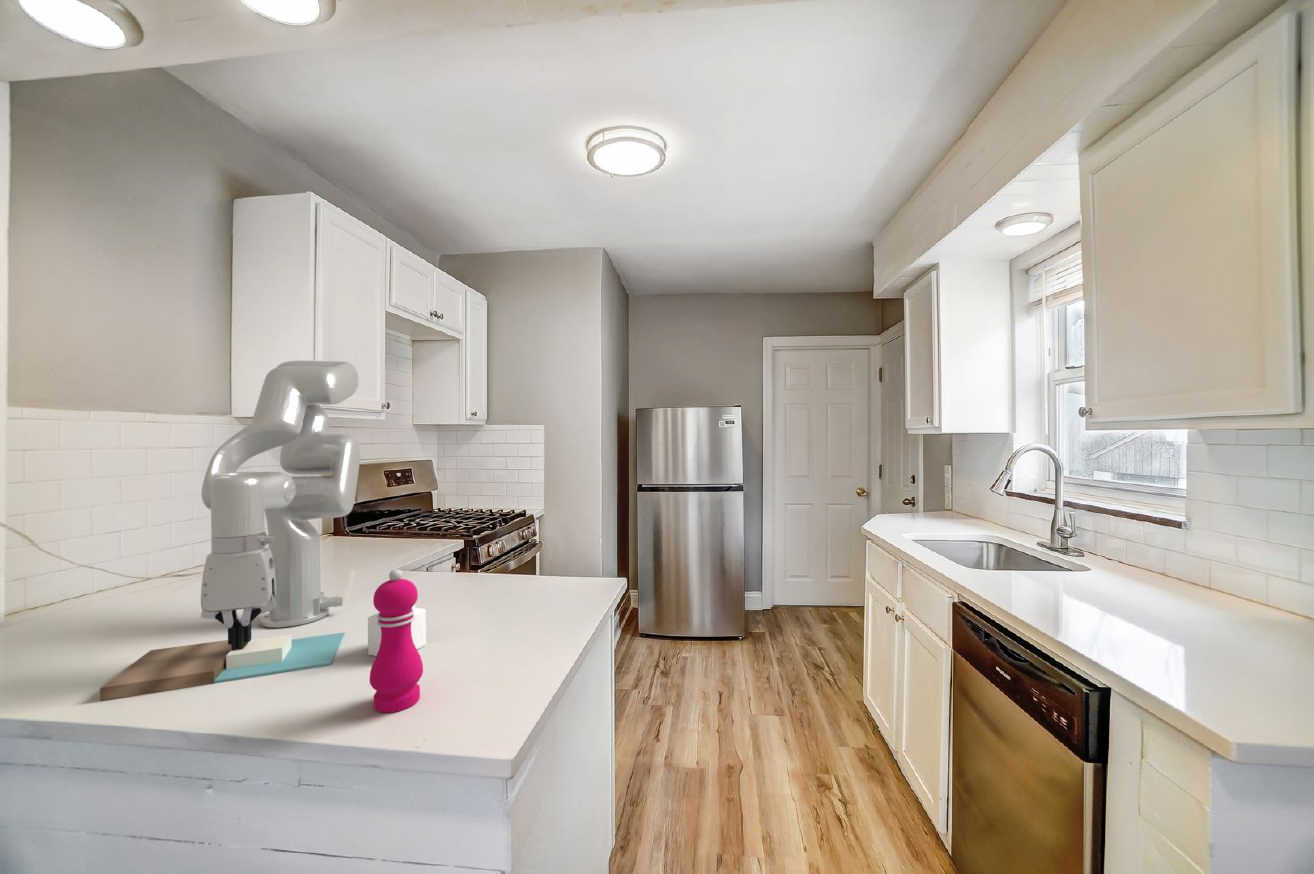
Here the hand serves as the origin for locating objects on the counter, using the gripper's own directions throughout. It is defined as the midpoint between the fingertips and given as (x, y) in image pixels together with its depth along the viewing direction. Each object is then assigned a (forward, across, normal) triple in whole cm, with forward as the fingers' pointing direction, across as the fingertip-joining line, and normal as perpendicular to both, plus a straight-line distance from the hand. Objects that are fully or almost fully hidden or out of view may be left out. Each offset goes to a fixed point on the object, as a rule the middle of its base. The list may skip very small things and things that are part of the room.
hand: (239, 646), depth 94 cm
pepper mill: (+3, -27, +28) cm, 39 cm away
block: (+1, -3, 0) cm, 3 cm away
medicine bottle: (+3, -26, +6) cm, 27 cm away
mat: (+3, -7, 0) cm, 7 cm away
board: (+3, +8, 0) cm, 9 cm away
